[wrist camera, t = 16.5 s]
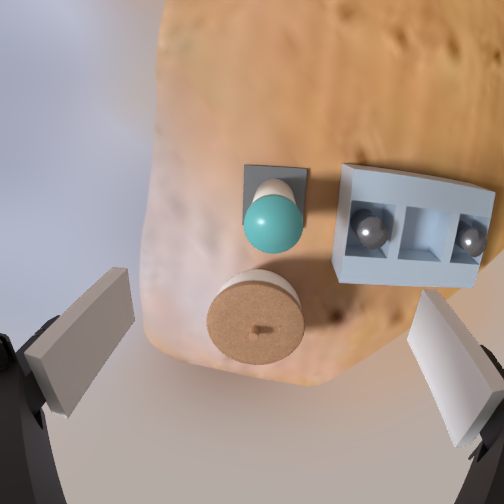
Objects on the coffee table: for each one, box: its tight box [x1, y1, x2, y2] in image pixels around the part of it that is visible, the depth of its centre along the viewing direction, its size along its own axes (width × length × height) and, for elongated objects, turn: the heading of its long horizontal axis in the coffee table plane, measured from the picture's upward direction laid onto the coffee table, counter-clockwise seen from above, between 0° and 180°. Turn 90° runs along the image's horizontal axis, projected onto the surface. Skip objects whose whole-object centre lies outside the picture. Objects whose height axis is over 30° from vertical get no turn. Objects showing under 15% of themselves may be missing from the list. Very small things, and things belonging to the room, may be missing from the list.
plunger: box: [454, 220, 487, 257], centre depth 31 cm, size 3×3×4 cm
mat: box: [242, 165, 307, 225], centre depth 36 cm, size 7×7×1 cm
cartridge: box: [244, 179, 303, 253], centre depth 31 cm, size 5×5×11 cm
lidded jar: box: [207, 269, 305, 365], centre depth 37 cm, size 11×11×9 cm
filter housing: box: [331, 163, 495, 288], centre depth 33 cm, size 12×18×6 cm, turn 88°
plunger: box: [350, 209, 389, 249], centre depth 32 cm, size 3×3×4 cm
